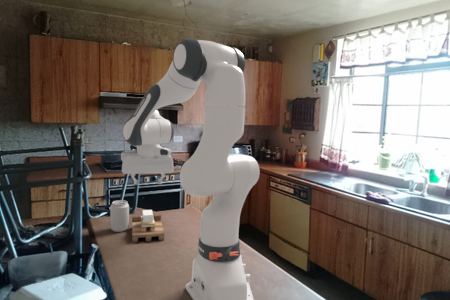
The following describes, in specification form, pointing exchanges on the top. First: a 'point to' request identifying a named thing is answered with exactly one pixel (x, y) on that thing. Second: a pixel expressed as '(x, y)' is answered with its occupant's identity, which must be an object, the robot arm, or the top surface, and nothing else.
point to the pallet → (147, 225)
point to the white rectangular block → (147, 216)
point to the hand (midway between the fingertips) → (148, 184)
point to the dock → (148, 233)
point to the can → (119, 216)
